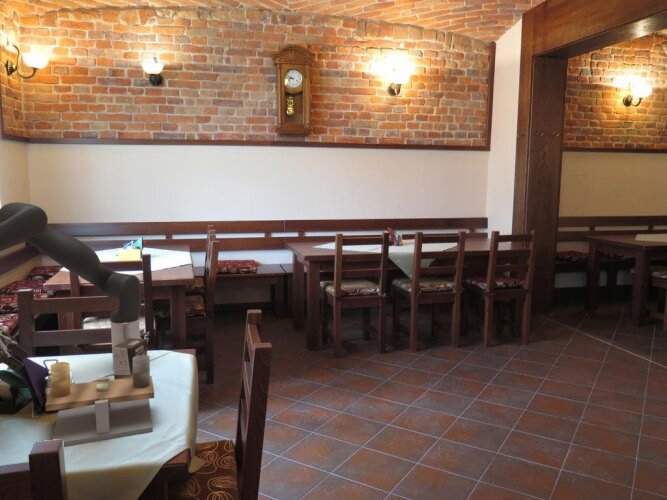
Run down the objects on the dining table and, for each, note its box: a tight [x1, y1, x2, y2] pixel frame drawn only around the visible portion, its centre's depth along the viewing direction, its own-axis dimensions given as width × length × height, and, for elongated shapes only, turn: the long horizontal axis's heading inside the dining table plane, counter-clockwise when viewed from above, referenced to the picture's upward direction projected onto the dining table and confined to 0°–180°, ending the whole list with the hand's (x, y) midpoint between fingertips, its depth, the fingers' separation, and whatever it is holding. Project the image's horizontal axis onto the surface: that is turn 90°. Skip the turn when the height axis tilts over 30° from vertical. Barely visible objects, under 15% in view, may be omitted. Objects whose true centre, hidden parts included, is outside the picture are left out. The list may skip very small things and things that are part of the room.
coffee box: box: [112, 338, 148, 380], centre depth 162 cm, size 9×6×16 cm
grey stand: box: [51, 376, 153, 447], centre depth 143 cm, size 24×19×10 cm
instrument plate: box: [45, 354, 155, 412], centre depth 142 cm, size 26×13×10 cm, turn 112°
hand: (23, 362), depth 134 cm, fingers open, 8 cm apart
